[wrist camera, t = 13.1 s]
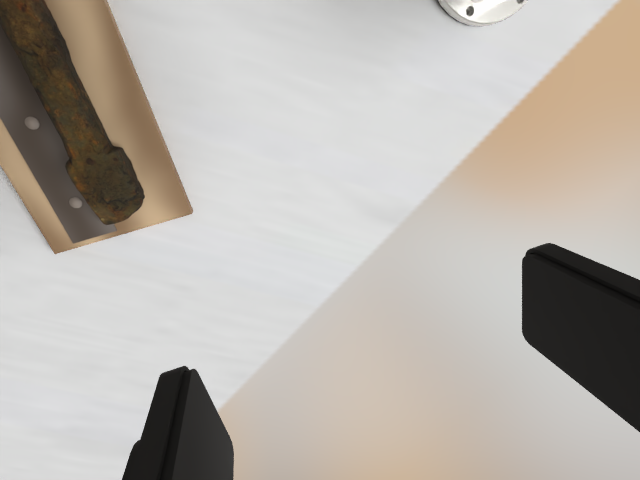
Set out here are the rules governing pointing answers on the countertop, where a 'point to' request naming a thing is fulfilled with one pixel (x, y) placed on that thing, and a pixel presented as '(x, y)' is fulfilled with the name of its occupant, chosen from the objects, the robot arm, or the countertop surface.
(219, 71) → the countertop surface
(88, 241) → the plywood panel
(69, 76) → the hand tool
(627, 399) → the robot arm
